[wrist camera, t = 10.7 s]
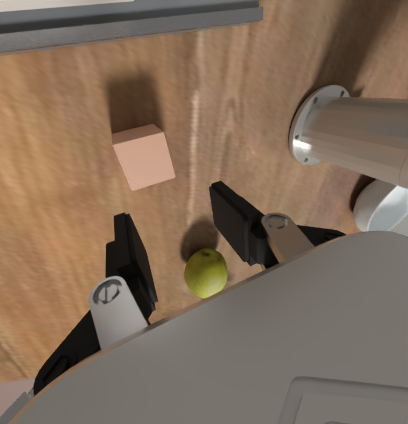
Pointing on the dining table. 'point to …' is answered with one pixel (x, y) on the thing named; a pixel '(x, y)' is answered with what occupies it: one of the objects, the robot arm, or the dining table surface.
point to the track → (118, 22)
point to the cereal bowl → (380, 206)
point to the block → (143, 156)
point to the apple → (206, 273)
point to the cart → (48, 4)
